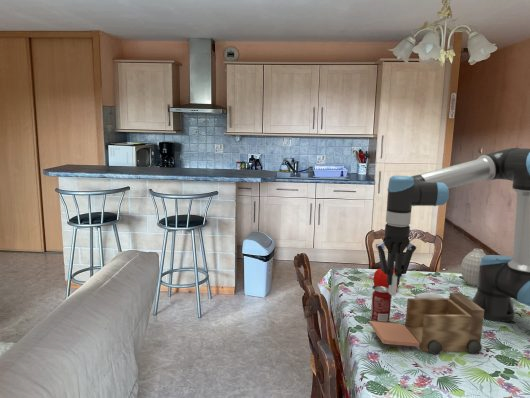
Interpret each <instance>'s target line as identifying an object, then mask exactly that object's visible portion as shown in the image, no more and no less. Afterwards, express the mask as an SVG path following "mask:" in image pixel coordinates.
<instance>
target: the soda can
mask: <svg viewBox="0 0 530 398" xmlns="http://www.w3.org/2000/svg"><path fill="white" fill-rule="evenodd" d="M388 291H389V288H387V287H382V286H378V287H375V286H374V290H373V291H372V293H371V295H372V296H371V307H370V308H371V309H370V318H371V320H372V321H375V322H385V323H389V321H390V317H391V306H392V296H391V295H390V294H389V293H388Z"/></svg>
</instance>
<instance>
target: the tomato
mask: <svg viewBox="0 0 530 398" xmlns="http://www.w3.org/2000/svg"><path fill="white" fill-rule="evenodd" d="M394 271H395V269H394V270H393V274H395V273H394ZM372 278H373V279H372V280H373V281H372V282H373V285H374V288H375V287H378V286H382V287H387V288H389V285H388V284H387V274H384V273H383V272H382V270H381V268H378V269H376V270H375V272H374V273H373V277H372ZM398 287H399V285H397V288H398Z"/></svg>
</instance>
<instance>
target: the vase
mask: <svg viewBox="0 0 530 398" xmlns="http://www.w3.org/2000/svg"><path fill="white" fill-rule="evenodd" d="M486 255H487V254H486V253H485V252H484V250H483V249H480V248H474V249H473V250H472V251H470V252H468V253H467V254H466V255H465V256H464V258H463V259H462V262H461V263H460V264H461V265H460V273H461V275H462V278H463V280H464V281H465V282H466V283H467V284H468V285H469V286H472V287H478V279H479V269H480V263H481V259H482V257H483V256H486Z"/></svg>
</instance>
